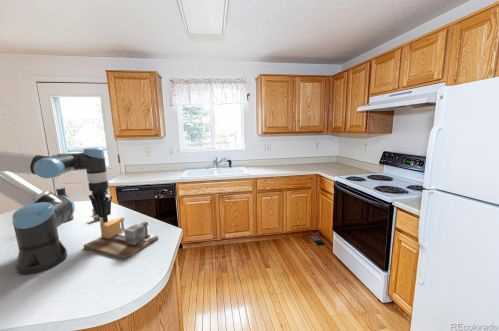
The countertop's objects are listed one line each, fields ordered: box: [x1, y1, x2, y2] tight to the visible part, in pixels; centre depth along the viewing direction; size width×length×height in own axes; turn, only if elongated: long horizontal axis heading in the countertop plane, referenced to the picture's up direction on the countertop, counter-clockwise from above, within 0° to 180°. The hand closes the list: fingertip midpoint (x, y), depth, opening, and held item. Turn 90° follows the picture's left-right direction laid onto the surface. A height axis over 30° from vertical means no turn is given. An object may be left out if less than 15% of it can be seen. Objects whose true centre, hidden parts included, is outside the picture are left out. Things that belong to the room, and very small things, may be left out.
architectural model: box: [90, 208, 99, 221], centre depth 131 cm, size 3×7×7 cm, turn 140°
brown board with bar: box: [83, 221, 159, 261], centre depth 102 cm, size 18×26×9 cm
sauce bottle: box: [55, 186, 74, 222], centre depth 130 cm, size 6×6×20 cm
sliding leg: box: [99, 217, 125, 238], centre depth 106 cm, size 10×5×6 cm, turn 158°
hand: (104, 228), depth 106 cm, fingers closed
